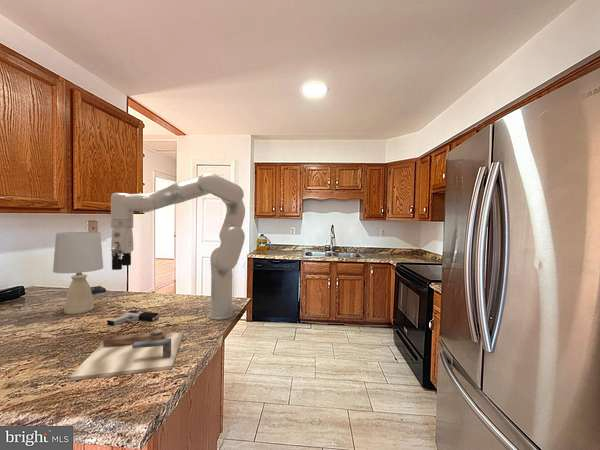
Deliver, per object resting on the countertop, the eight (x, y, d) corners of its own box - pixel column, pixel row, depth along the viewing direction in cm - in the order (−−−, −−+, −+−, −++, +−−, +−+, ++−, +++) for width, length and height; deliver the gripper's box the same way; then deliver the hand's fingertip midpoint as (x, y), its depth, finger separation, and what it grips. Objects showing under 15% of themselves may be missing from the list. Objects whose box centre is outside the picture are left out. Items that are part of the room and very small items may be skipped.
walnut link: (165, 336, 102) (165, 330, 102) (163, 341, 98) (163, 335, 98) (106, 341, 97) (106, 335, 97) (100, 347, 93) (100, 341, 93)
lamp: (43, 313, 127) (43, 232, 126) (87, 302, 144) (87, 231, 144) (68, 320, 120) (68, 234, 119) (112, 307, 137) (112, 232, 137)
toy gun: (140, 323, 112) (160, 312, 124) (106, 319, 115) (129, 309, 127) (140, 331, 112) (161, 319, 124) (106, 327, 115) (129, 316, 127)
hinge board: (183, 334, 107) (183, 319, 107) (171, 368, 83) (172, 348, 83) (105, 341, 100) (105, 325, 100) (68, 380, 76) (68, 359, 76)
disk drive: (99, 290, 171) (69, 294, 160) (99, 285, 171) (69, 290, 160) (106, 293, 165) (74, 298, 153) (106, 288, 165) (74, 293, 153)
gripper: (124, 225, 103) (124, 271, 103) (139, 224, 120) (139, 263, 120) (101, 224, 101) (101, 271, 102) (120, 223, 118) (119, 264, 118)
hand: (121, 267), depth 111 cm, fingers open, 9 cm apart
